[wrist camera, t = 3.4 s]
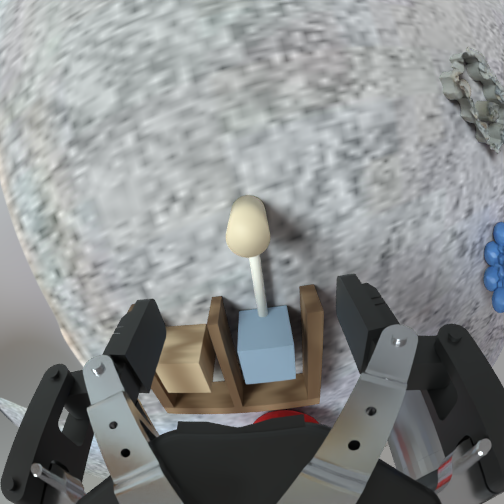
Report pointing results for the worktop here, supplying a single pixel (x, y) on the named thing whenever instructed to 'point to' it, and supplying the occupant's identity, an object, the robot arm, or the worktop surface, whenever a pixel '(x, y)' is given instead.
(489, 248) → the grapes
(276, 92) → the worktop surface
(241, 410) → the lane rack
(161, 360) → the plain oak block
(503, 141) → the egg carton
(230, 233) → the tethered block
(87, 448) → the robot arm
